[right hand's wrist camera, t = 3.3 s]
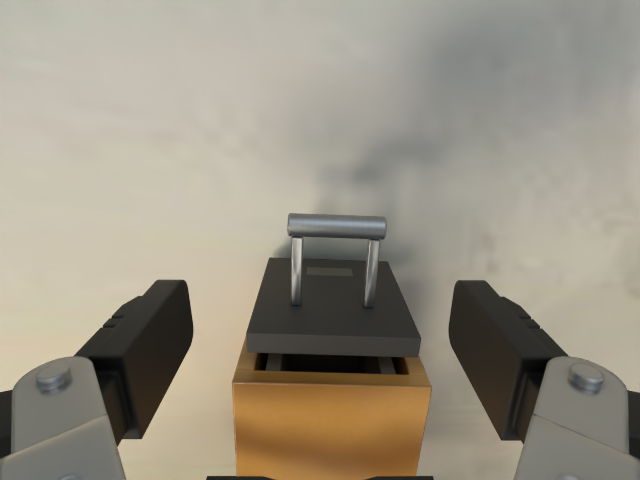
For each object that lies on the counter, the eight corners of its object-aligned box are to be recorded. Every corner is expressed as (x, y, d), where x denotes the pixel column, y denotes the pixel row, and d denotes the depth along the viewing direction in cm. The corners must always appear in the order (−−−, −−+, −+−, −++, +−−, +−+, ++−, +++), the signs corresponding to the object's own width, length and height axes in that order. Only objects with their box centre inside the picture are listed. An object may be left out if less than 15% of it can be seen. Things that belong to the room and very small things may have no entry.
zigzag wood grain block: (263, 278, 29) (231, 382, 18) (390, 282, 29) (432, 387, 18) (265, 450, 35) (242, 602, 25) (369, 452, 35) (392, 604, 25)
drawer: (268, 185, 25) (242, 231, 16) (396, 190, 26) (437, 238, 17) (270, 431, 33) (253, 552, 24) (368, 433, 33) (386, 554, 24)
